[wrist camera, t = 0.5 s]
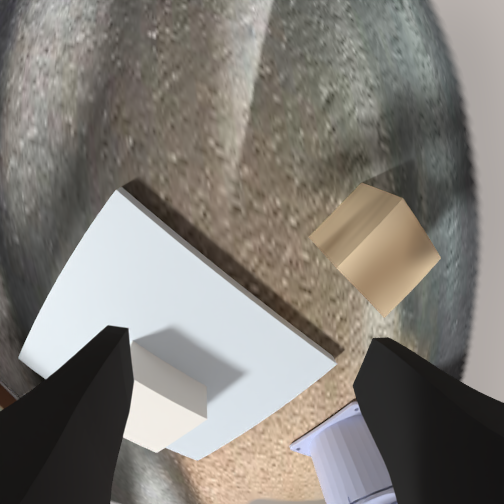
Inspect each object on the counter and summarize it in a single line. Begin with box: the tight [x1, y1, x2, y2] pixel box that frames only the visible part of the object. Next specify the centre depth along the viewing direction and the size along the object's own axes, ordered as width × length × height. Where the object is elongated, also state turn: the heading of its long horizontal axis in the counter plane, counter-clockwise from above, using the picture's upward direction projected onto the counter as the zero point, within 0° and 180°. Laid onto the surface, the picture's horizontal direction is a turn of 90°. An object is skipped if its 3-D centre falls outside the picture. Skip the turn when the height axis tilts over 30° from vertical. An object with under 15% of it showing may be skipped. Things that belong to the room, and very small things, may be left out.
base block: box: [123, 341, 207, 453], centre depth 18 cm, size 6×6×3 cm
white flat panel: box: [18, 187, 337, 461], centre depth 19 cm, size 18×16×1 cm
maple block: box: [309, 183, 441, 318], centre depth 16 cm, size 4×4×4 cm
